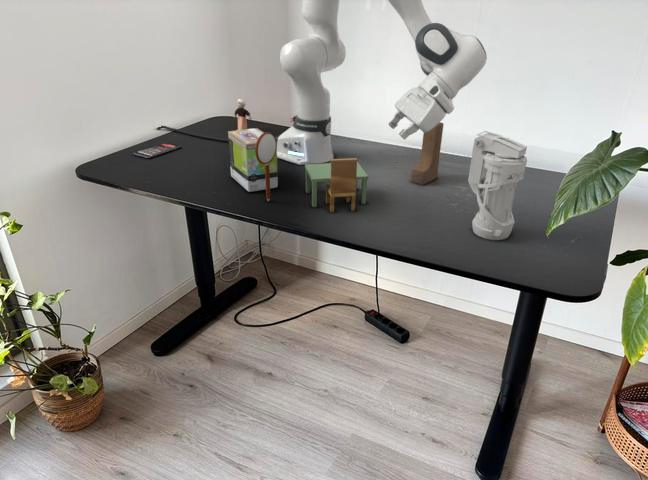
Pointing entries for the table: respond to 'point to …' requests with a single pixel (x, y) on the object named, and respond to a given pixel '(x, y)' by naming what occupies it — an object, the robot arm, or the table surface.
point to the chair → (342, 181)
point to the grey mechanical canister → (495, 183)
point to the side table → (324, 174)
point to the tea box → (249, 161)
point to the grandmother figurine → (242, 115)
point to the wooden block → (428, 156)
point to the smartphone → (156, 150)
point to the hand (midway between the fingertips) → (395, 131)
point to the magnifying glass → (266, 155)
